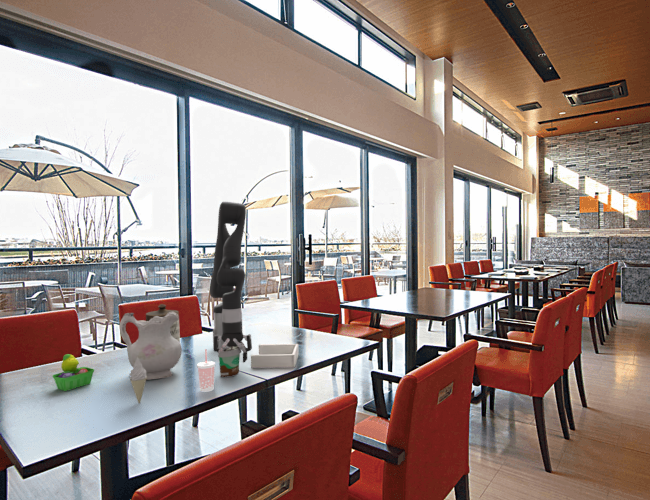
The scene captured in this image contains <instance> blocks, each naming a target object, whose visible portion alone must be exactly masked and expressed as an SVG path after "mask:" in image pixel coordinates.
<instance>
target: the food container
mask: <svg viewBox="0 0 650 500" xmlns="http://www.w3.org/2000/svg"><path fill="white" fill-rule="evenodd" d="M217 353H218V352H217ZM241 353H243V351H242V350H241V349H240V348H239V347H238V346H237V347H233V346H231V347H230V348H227V349H224V350H223V351H219V353H218V354H217V357H218V361H219V363H218V364H219V376H220V377H219V378H229V377H234V376H236V375H239V373H240V356H241V355H240V354H241Z"/></svg>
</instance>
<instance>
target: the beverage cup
mask: <svg viewBox="0 0 650 500" xmlns="http://www.w3.org/2000/svg"><path fill="white" fill-rule="evenodd" d="M207 353H208V352H207V349H206V348H205V352H204V354H205V355H204V356H205V361H201V362H198V363H197V364H196V366H197V369H198V370H197V371H198V382H199V383H198V384H199V391H200V392H203V393H208V392H212V391H213V390H215V389H214V387H215V366H216V361H211V360H208V354H207Z"/></svg>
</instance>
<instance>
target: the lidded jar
mask: <svg viewBox="0 0 650 500" xmlns="http://www.w3.org/2000/svg"><path fill="white" fill-rule="evenodd" d="M157 307H158V308H157V309H158V310H154V311H149V312H146V313H145V321H149V320H150V319H152V318H153V317H155V316H159V317H164V316H166V315H167V314H168V313H169V312H175V313H176V314H178V316H179V317H180V313H179V310H176V309H167V305H166V304H165V303H164V304H163V303H161V304H159V305H158V306H157ZM170 333H171V335H172V337H174V338H175V339H176V340H178V341H179V342H180V343H181V338H180V337H181V334H180V319H179V320H178V321H176V322H174V323H173V324H172V326H171V328H170Z"/></svg>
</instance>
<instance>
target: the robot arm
mask: <svg viewBox="0 0 650 500" xmlns="http://www.w3.org/2000/svg"><path fill="white" fill-rule="evenodd" d="M246 215H247V209H246V205H245V204H243V203H241V202H234V201H233V202H232V201H222V202H220V204H219V209H218V217H217V218H218V219H217V236H216V242H215V247H214V257H213V269H212V273H211V278H210V283H209V295H210V297H211V298H212V299H221V300H222V301H221V302H220V303H218V304H216V305H214V307H213V329H212V343H213V344H212V349H213V351H214V352H216V353H219V351H224V350H225V349H227V348H230V347H231V346H233V347H237V346H238V347H239V348H240V349H241V351H242V363H246V362H247V360H248V352H251V350H252V349H253V345H252V344H253V343H252V334H250V333H249V334H245V335H244V333H243V312H242V311H243V310H242V291H243V287H244V283H245V279H246V273H245V270H244V269H243V268H241V267H238V266H240V264H241V261H242V260H241V259H242V243H243V242H242V241H243V237H244V230H245V224H246ZM226 224H227V225H235V226H236V227H235V230H234V231H232V233H231V234H230V233H229V231H228V228H227V225H226ZM243 340H245V341H246V345H247V346H245V343H244V342H243Z"/></svg>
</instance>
